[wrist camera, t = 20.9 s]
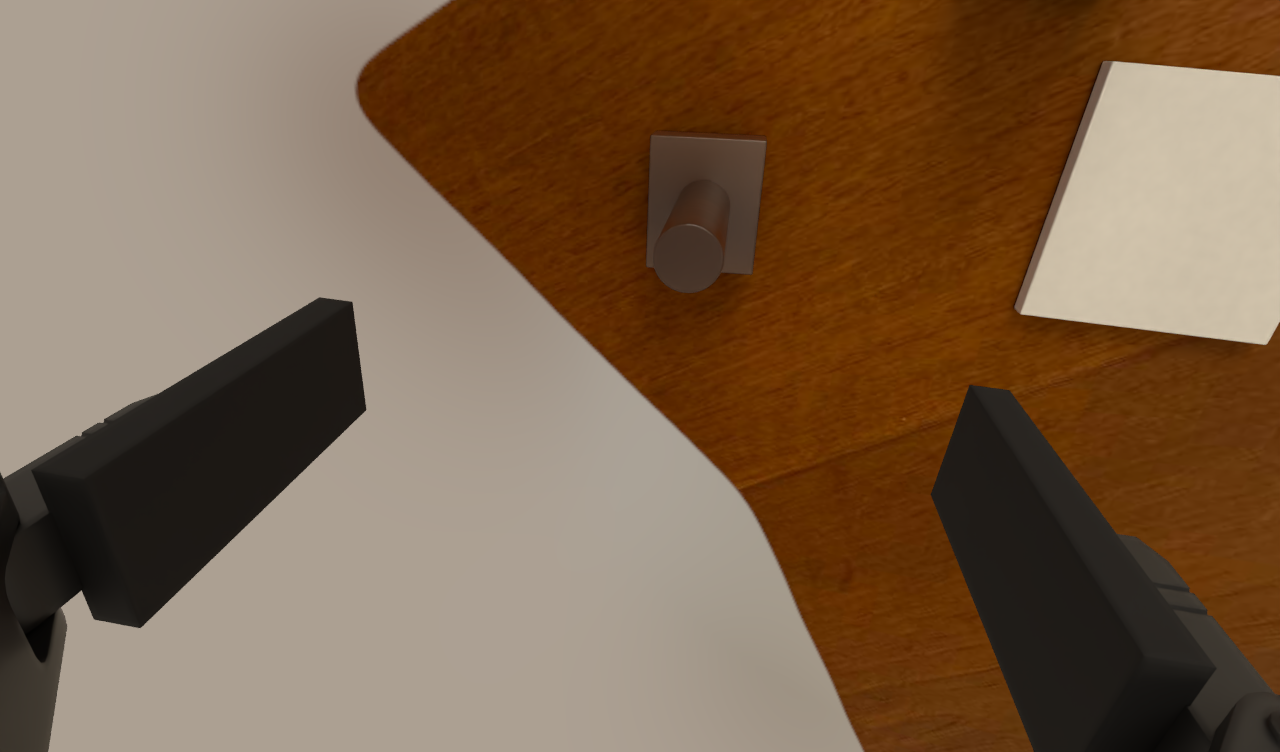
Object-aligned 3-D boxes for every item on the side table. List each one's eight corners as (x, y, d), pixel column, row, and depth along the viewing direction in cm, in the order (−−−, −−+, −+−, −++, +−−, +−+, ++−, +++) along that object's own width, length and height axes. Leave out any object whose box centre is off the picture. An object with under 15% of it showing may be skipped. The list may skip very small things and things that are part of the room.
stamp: (659, 127, 34) (616, 164, 23) (765, 132, 33) (773, 172, 22) (654, 249, 37) (613, 334, 26) (752, 256, 36) (753, 346, 25)
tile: (1102, 60, 30) (1113, 60, 29) (1392, 86, 29) (1411, 87, 28) (1013, 308, 35) (1019, 314, 34) (1253, 338, 34) (1267, 345, 33)
